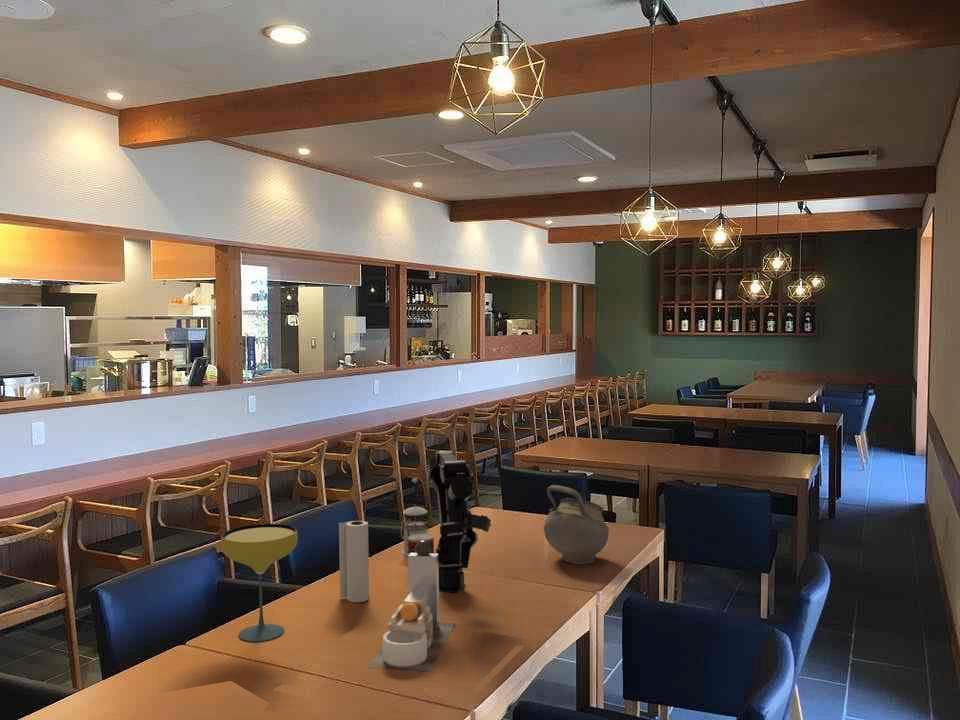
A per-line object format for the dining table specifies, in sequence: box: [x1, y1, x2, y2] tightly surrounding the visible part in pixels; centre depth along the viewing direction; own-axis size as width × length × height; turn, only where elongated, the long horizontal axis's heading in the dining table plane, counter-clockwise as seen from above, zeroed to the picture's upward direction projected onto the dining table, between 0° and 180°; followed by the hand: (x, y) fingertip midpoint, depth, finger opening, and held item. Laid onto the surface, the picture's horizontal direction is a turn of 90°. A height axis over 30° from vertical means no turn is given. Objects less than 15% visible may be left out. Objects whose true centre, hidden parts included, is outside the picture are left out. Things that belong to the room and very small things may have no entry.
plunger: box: [403, 540, 440, 629], centre depth 188 cm, size 13×7×21 cm, turn 171°
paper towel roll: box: [338, 520, 370, 603], centre depth 216 cm, size 7×6×21 cm
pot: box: [543, 484, 610, 565], centre depth 251 cm, size 21×21×25 cm
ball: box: [400, 603, 418, 621], centre depth 178 cm, size 4×4×4 cm
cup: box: [382, 630, 427, 667], centre depth 175 cm, size 10×10×5 cm
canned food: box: [408, 533, 435, 555], centre depth 240 cm, size 8×8×11 cm
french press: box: [400, 477, 428, 557], centre depth 260 cm, size 10×12×25 cm
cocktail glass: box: [220, 523, 299, 643], centre depth 192 cm, size 18×18×25 cm
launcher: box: [366, 603, 456, 673], centre depth 182 cm, size 28×14×10 cm, turn 171°
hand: (462, 566), depth 205 cm, fingers open, 9 cm apart
